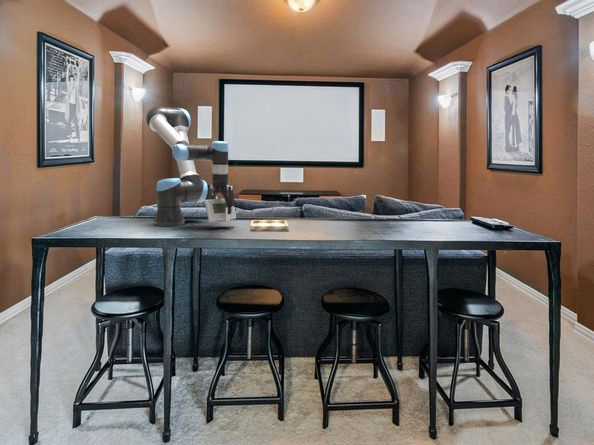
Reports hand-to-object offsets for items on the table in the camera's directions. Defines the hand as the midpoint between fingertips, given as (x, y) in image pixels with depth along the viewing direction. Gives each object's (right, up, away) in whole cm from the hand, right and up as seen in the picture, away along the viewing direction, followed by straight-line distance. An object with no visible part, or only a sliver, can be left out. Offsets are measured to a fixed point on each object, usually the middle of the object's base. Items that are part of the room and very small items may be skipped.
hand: (220, 219), depth 214 cm
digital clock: (0, -1, -1) cm, 1 cm away
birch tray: (+24, -4, +3) cm, 24 cm away
